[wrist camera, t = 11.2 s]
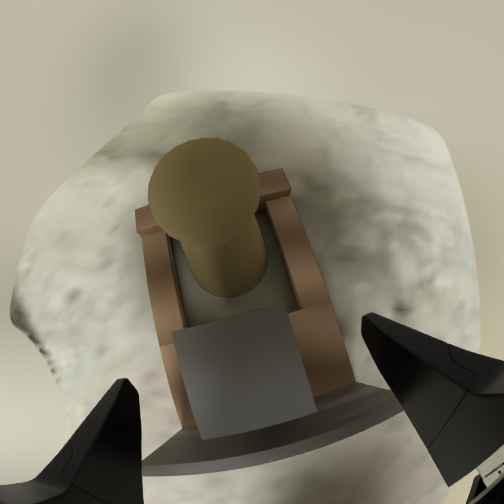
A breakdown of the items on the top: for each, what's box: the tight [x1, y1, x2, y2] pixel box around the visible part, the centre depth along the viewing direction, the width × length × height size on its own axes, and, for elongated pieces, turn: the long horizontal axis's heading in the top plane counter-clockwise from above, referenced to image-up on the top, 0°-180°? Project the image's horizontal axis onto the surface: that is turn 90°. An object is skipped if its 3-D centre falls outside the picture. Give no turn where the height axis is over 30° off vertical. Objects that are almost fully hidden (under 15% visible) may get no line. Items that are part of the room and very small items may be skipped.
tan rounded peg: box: [148, 138, 268, 297], centre depth 16 cm, size 6×6×11 cm
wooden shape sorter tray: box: [135, 168, 404, 476], centre depth 14 cm, size 18×12×11 cm, turn 16°
